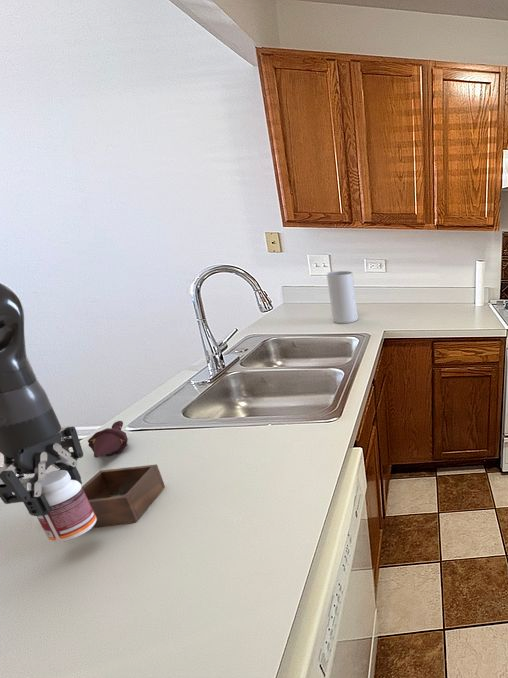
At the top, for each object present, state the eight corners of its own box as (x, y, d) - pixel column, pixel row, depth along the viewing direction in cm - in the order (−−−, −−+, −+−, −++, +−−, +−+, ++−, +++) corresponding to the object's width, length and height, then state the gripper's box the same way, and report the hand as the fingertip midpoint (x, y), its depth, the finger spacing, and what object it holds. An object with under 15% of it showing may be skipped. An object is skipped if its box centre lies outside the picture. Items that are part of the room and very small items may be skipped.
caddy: (73, 530, 75) (61, 505, 73) (109, 493, 85) (100, 470, 83) (136, 522, 77) (126, 497, 75) (165, 486, 87) (157, 464, 85)
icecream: (116, 442, 92) (139, 417, 105) (73, 442, 88) (102, 417, 102) (116, 469, 93) (138, 441, 106) (73, 470, 90) (102, 442, 103)
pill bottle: (105, 514, 73) (83, 464, 69) (83, 539, 67) (58, 487, 63) (64, 520, 71) (39, 469, 67) (39, 547, 66) (10, 493, 62)
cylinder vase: (353, 316, 218) (347, 270, 209) (361, 321, 209) (355, 273, 200) (330, 319, 212) (323, 272, 202) (337, 325, 202) (330, 276, 193)
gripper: (27, 394, 67) (65, 475, 73) (-63, 441, 53) (-7, 535, 60) (79, 390, 68) (112, 470, 74) (3, 435, 55) (51, 528, 61)
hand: (59, 499), depth 67 cm, fingers closed on pill bottle, 6 cm apart
